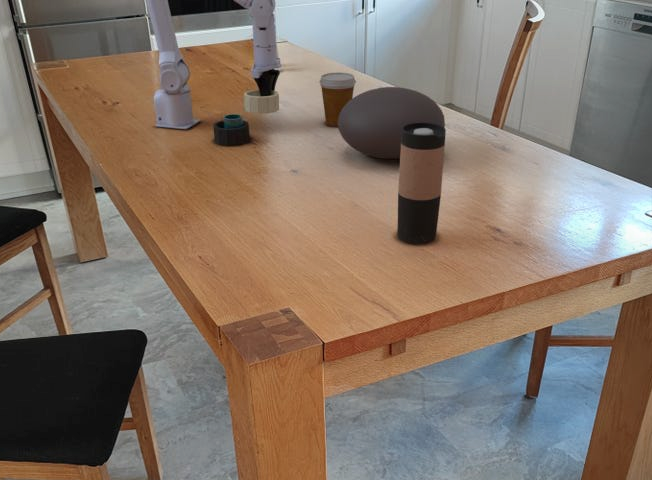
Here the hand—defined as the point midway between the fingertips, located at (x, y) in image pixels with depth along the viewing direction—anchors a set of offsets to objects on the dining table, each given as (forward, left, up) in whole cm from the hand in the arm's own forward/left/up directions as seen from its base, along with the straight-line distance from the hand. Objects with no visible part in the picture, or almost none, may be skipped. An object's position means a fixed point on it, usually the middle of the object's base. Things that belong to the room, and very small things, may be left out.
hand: (267, 100), depth 189 cm
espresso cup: (-3, -15, -6) cm, 17 cm away
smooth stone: (+37, -13, -7) cm, 40 cm away
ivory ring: (0, -4, -1) cm, 4 cm away
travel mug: (+54, -56, -7) cm, 78 cm away
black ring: (-4, -15, -6) cm, 17 cm away
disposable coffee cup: (+17, +7, -7) cm, 20 cm away
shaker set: (-26, +59, -7) cm, 65 cm away
